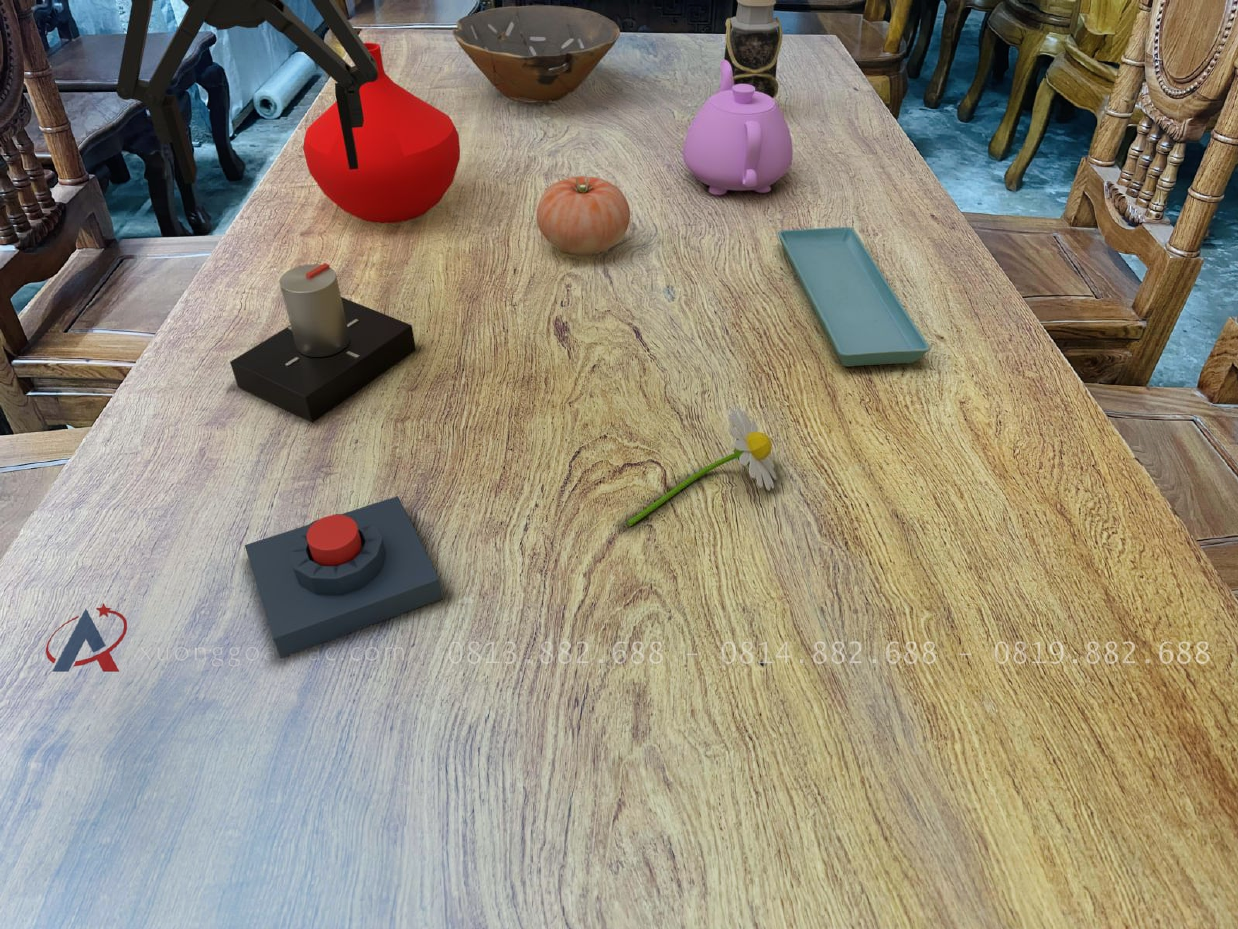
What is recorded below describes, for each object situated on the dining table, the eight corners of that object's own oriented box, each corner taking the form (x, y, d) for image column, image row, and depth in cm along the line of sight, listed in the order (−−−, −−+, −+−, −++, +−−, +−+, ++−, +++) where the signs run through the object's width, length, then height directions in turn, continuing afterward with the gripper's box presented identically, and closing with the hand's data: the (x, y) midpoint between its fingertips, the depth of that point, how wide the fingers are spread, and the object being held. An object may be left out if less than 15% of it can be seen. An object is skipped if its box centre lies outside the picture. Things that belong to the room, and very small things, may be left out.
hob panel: (312, 423, 86) (305, 395, 84) (237, 387, 90) (228, 360, 88) (416, 350, 95) (412, 323, 93) (344, 320, 99) (338, 294, 97)
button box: (280, 658, 66) (266, 622, 64) (251, 564, 73) (238, 528, 70) (443, 598, 71) (436, 562, 68) (401, 515, 77) (394, 479, 75)
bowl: (638, 115, 141) (639, 46, 135) (474, 132, 136) (467, 61, 129) (594, 60, 159) (594, -4, 153) (448, 73, 154) (441, 7, 148)
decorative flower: (647, 469, 71) (770, 385, 79) (604, 482, 76) (723, 402, 84) (696, 557, 72) (813, 465, 80) (650, 565, 77) (764, 478, 85)
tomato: (567, 277, 106) (565, 211, 100) (521, 238, 112) (517, 174, 107) (647, 252, 110) (649, 188, 105) (598, 216, 117) (598, 153, 112)
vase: (454, 242, 112) (434, 76, 99) (299, 239, 112) (260, 74, 99) (475, 175, 125) (460, 22, 113) (337, 173, 126) (307, 20, 113)
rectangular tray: (774, 245, 112) (776, 226, 110) (849, 242, 112) (853, 222, 111) (836, 375, 92) (840, 354, 91) (926, 370, 93) (932, 349, 91)
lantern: (769, 105, 145) (789, -79, 128) (779, 126, 139) (802, -65, 122) (712, 106, 144) (726, -79, 128) (720, 127, 138) (735, -65, 122)
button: (318, 573, 68) (313, 556, 66) (306, 540, 70) (301, 524, 69) (367, 556, 69) (363, 539, 68) (354, 525, 71) (350, 508, 70)
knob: (322, 363, 88) (306, 295, 83) (284, 346, 90) (266, 278, 85) (360, 338, 91) (347, 270, 86) (323, 322, 93) (308, 255, 88)
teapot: (668, 148, 132) (672, 58, 124) (767, 144, 134) (777, 55, 126) (694, 213, 118) (701, 116, 110) (805, 208, 119) (820, 112, 111)
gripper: (378, -127, 73) (415, 140, 87) (30, -116, 69) (127, 164, 83) (383, -108, 68) (421, 174, 82) (4, -94, 63) (113, 202, 77)
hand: (273, 170), depth 82 cm, fingers open, 13 cm apart
